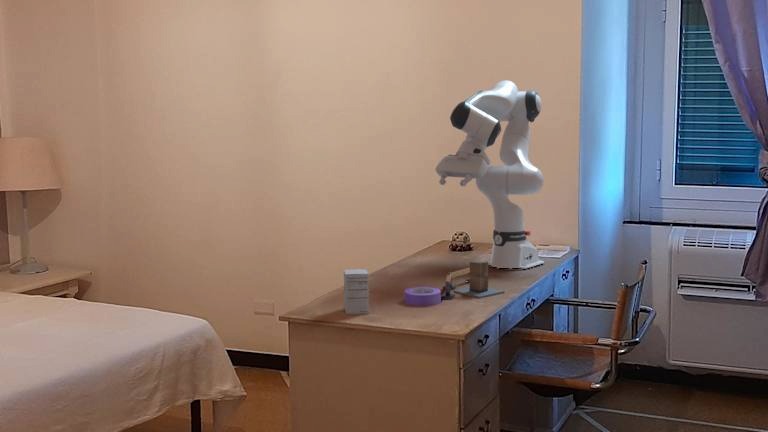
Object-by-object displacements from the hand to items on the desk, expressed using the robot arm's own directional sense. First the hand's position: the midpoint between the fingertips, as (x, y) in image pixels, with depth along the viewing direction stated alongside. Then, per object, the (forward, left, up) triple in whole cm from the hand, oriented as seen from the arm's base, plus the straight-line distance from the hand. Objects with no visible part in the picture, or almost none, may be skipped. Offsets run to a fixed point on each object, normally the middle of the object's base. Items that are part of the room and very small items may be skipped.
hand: (451, 184), depth 324 cm
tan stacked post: (+9, +23, -34) cm, 42 cm away
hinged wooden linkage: (+11, +13, -34) cm, 39 cm away
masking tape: (+32, +20, -35) cm, 52 cm away
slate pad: (+9, +23, -34) cm, 42 cm away
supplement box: (+56, +16, -35) cm, 68 cm away
